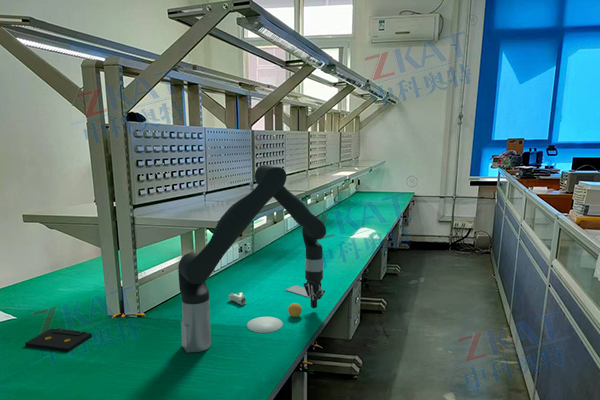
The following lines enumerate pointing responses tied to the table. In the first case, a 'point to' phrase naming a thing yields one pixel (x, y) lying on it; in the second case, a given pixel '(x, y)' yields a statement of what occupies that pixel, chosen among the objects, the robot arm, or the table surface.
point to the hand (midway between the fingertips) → (313, 307)
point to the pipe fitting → (237, 298)
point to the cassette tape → (59, 340)
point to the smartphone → (297, 290)
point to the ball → (294, 310)
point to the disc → (264, 324)
